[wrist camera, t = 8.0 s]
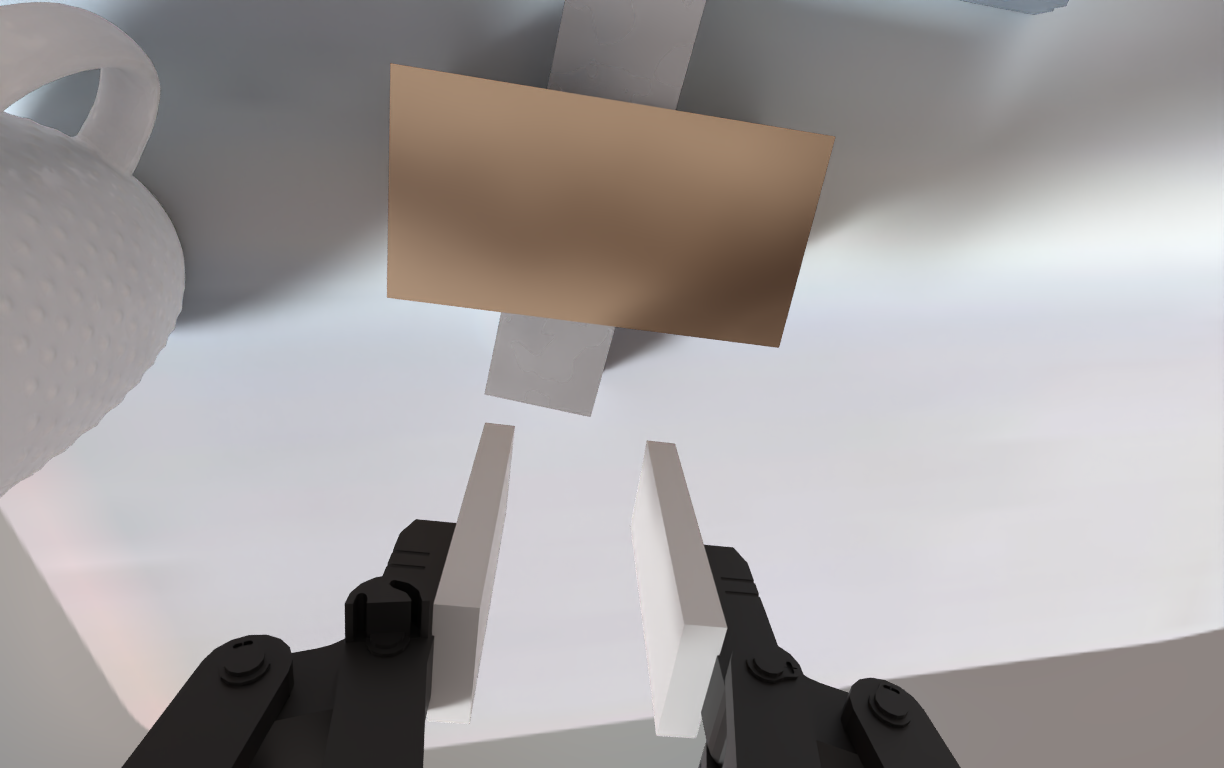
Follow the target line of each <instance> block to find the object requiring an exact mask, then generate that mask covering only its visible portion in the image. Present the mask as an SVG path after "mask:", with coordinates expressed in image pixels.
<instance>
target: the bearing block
mask: <svg viewBox="0 0 1224 768" xmlns="http://www.w3.org/2000/svg"><path fill="white" fill-rule="evenodd" d="M834 141H835V136H829V135H823V134H817V133H811V132H804V131H798V130H792V129H786V128H780V127H774V126H768V125H762V124H756V123H750V122H744V121H738V120H732V119H726V118H720V117H714V116H707V115H701V114H695V113H689V112H683V111H677V110H671V109H665V108H659V107H653V106H647V105H641V104H635V103H629V102H623V101H617V100H610V99H604V98H598V97H592V96H586V95H580V94H574V93H568V92H562V91H556V90H550V89H544V88H538V87H532V86H526V85H520V84H513V83H507V82H501V81H495V80H489V79H483V78H477V77H471V76H465V75H459V74H453V73H447V72H441V71H435V70H429V69H423V68H416V67H410V66H404V65H398V64H392V63H390V125H389V194H388V264H387V298H395V299H402V300H410V301H418V302H426V303H434V304H441V305H449V306H457V307H465V308H473V309H481V310H488V311H496V312H504V313H512V314H520V315H527V316H535V317H543V318H551V319H559V320H566V321H574V322H582V323H590V324H598V325H605V326H613V327H621V328H629V329H637V330H644V331H652V332H660V333H668V334H676V335H683V336H691V337H699V338H707V339H715V340H723V341H730V342H738V343H746V344H754V345H762V346H769V347H777V348H779V346H780V342H781V338H782V334H783V331H784V327H785V323H786V319H787V316H788V312H789V308H790V305H791V301H792V297H793V293H794V290H795V286H796V282H797V278H798V275H799V271H800V267H801V264H802V260H803V256H804V252H805V249H806V245H807V241H808V237H809V234H810V230H811V226H812V223H813V219H814V215H815V211H816V208H817V204H818V200H819V196H820V193H821V189H822V185H823V182H824V178H825V174H826V170H827V167H828V163H829V159H830V155H831V152H832V148H833V144H834Z"/></svg>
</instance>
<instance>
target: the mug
mask: <svg viewBox="0 0 1224 768" xmlns="http://www.w3.org/2000/svg"><path fill="white" fill-rule="evenodd" d="M99 68H100V80H99V87H98V91H97V95H96V99H95V102H94V105H93V106H92V108H91V110H90V112H89V115H88V117H87V119H86V121H85V122H84V124H83V125H82V127H81V129H80V132H79V133H78V134H77V135H76V136H73V137H71V136H68V135H66V134H64V133H62V132H61V131H59V130H57V129H54V128H50V127H47V126H43V125H41V124H39V123H37V122H35V121H33V120H31V119H28V118H22V117H18V116H14V115H11V114H8V113H6V112H3V111H4V110H5V109H7V108H8V107H9V106H11V105H12V104H13V103H15V102H16V101H18V100H19V99H21V98H22V97H24V96H25V95H27V94H29V93H30V92H32V91H34V90H36V89H38V88H39V87H41V86H43V85H46V84H48V83H50V82H53V81H55V80H58V79H60V78H62V77H65V76H69V75H72V74H75V73H79V72H82V71H87V70H93V69H99ZM160 92H161V90H160V82H159V78H158V74H157V71H156V69H155V67H154V65H153V63H152V61H151V60H150V59H149V57H148V56H147V55H146V53H145V52H144V51H143V50H142V49H141V47H140V46H139V45H138V44H137V43H136V42H135V41H134V40H133V39H132V38H130V37H129V36H128V35H127V34H126V33H125V32H123V31H122V30H121V29H120V28H118V27H117V26H116V25H114V24H112V23H111V22H109V21H108V20H106V19H104V18H102V17H100V16H99V15H97V14H95V13H92V12H90V11H87V10H85V9H81V8H77V7H74V6H69V5H65V4H60V3H50V2H31V3H19V4H11V5H4V6H0V498H1V497H2V496H3V495H4V494H5V493H6V492H7V491H8V490H9V489H11V488H12V487H13V486H14V485H16V484H17V483H19V482H20V481H22V480H24V479H26V478H28V477H30V476H32V475H33V474H34V473H35V472H37V471H39V470H41V468H42V467H43V466H44V465H45V464H46V463H47V462H48V461H49V460H50V459H52V458H53V457H55V456H57V455H59V454H61V453H63V452H65V451H66V450H67V449H68V448H69V446H71V445H72V444H73V443H74V442H75V441H76V440H77V439H78V438H79V437H80V436H81V435H82V434H84V433H85V432H87V431H89V430H90V429H92V428H94V427H95V426H97V425H98V423H99V422H100V420H101V419H102V418H103V417H104V416H105V414H106V413H108V412H109V411H110V410H112V409H113V408H115V407H116V406H118V405H119V404H120V403H121V402H122V401H123V399H124V397H125V395H126V394H127V393H128V392H129V391H130V390H131V389H133V388H134V387H135V386H136V385H137V384H138V383H140V381H141V379H142V376H143V374H144V373H145V372H146V370H148V369H149V368H150V367H151V366H152V365H154V363H155V360H156V357H157V355H158V354H159V352H160V351H161V350H162V349H163V348H164V347H165V346H166V343H167V339H168V337H169V335H170V334H171V332H172V331H173V330H174V329H175V326H176V320H177V317H178V316H179V314H180V312H181V311H182V300H183V294H184V290H185V265H184V256H183V251H182V248H181V244H180V241H179V238H178V236H177V233H176V230H175V228H174V226H173V224H172V222H171V220H170V218H169V217H168V215H167V214H166V212H165V211H164V209H163V208H162V206H161V205H160V203H159V202H158V201H157V200H156V198H155V197H154V196H153V195H152V194H151V193H150V192H149V191H148V189H147V188H146V187H145V186H144V185H143V184H142V183H141V182H140V181H138V180H137V179H136V178H135V177H134V176H133V175H132V174H133V173H134V171H135V169H136V167H137V165H138V163H139V160H140V158H141V155H142V153H143V151H144V148H145V146H146V144H147V142H148V139H149V137H150V135H151V133H152V131H153V128H154V124H155V120H156V117H157V113H158V107H159V101H160Z"/></svg>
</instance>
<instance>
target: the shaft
mask: <svg viewBox="0 0 1224 768" xmlns="http://www.w3.org/2000/svg"><path fill="white" fill-rule="evenodd" d="M705 3H706V0H565V3H564V8H563V13H562V18H561V23H560V28H559V33H558V37H557V42H556V47H555V52H554V57H553V62H552V67H551V72H550V77H549V81H548V86H547V89H550V90H556V91H562V92H568V93H574V94H580V95H586V96H592V97H598V98H604V99H610V100H617V101H623V102H629V103H635V104H641V105H647V106H653V107H659V108H665V109H671V110H676V107H677V104H678V100H679V97H680V93H681V89H682V86H683V82H684V79H685V75H686V71H687V68H688V64H689V61H690V57H691V53H692V50H693V46H694V43H695V39H696V35H697V32H698V28H699V25H700V21H701V17H702V14H703V10H704V7H705ZM614 330H615V327H613V326H605V325H598V324H590V323H582V322H574V321H566V320H559V319H551V318H543V317H535V316H527V315H520V314H512V313H504V312H501V316H500V321H499V326H498V331H497V336H496V340H495V345H494V350H493V355H492V360H491V365H490V370H489V375H488V380H487V384H486V389H485V394H486V395H490V396H495V397H500V398H504V399H509V400H514V401H518V402H523V403H528V404H532V405H537V406H541V407H546V408H551V409H555V410H560V411H565V412H569V413H574V414H579V415H583V416H588V417H590V416H591V413H592V409H593V406H594V402H595V398H596V395H597V391H598V388H599V384H600V380H601V377H602V373H603V370H604V366H605V363H606V359H607V355H608V352H609V348H610V345H611V341H612V337H613V334H614Z"/></svg>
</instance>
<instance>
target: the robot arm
mask: <svg viewBox="0 0 1224 768" xmlns="http://www.w3.org/2000/svg"><path fill="white" fill-rule="evenodd" d="M514 429H515V426H510V425H501V424H492V423H485V425H484V429H483V432H482V436H481V439H480V443H479V446H478V450H477V453H476V457H475V460H474V464H473V467H472V471H471V474H470V478H469V481H468V485H467V488H466V492H465V495H464V499H463V502H462V506H461V509H460V513H459V516H458V520H457V523H450V522H439V521H429V520H418V519H416V520H415V521H413V522H412V523H411V524H410V525H409V526H408V527H406V528H405V529H404V530H403V531H402V532H401V533H400V535H399V537H398V539H397V542H396V544H395V547H394V549H393V553H392V554H391V557H390V559H389V561H388V565H387V567H386V569H385V571H384V574H383V576H382V577H375V578H373V579H371V580H368V581H366V582H364V583H361V584H360V585H359V586H358V587H357V588H355V589H354V590H353V591H352V592H351V593H350V594H349V596H348V598H347V600H346V602H345V639H343V640H341V641H339V642H337V643H334V644H332V645H329V646H325V647H321V648H317V649H312V650H306V651H300V652H295V653H291V650H290V647H289V646H288V645H287V644H286V643H285V642H283V641H282V640H281V639H279V638H276V637H272V636H269V635H248V636H245V637H241V638H237V639H234V640H231V641H229V642H227V643H225V644H223V645H222V646H220V647H218V648H216V649H214V650H213V651H212V652H211V653H210V654H209V655H208V656H207V657H206V658H205V659H204V660H203V661H202V662H201V663H200V665H199V666H198V667H197V669H196V670H195V671H194V673H193V674H192V675H191V677H190V678H189V679H188V681H187V682H186V683H185V685H184V686H183V687H182V688H181V690H180V691H179V692H178V694H177V695H176V696H175V698H174V699H173V700H172V702H171V703H170V704H169V706H168V707H167V708H166V710H165V711H164V712H163V714H162V715H161V716H160V718H159V719H158V720H157V721H156V723H155V724H154V725H153V727H152V728H151V729H150V731H149V732H148V733H147V735H146V736H145V737H144V739H143V740H142V741H141V743H140V744H139V745H138V747H137V748H136V749H135V751H134V752H133V753H132V755H131V756H130V757H129V758H128V760H127V761H126V762H125V764H124V765H123V766H122V768H423V755H424V729H425V719H426V715H427V711H428V715H427V722H443V723H459V724H470V718H471V712H472V707H473V701H474V695H475V689H476V683H477V678H478V672H479V666H480V660H481V654H482V649H483V643H484V637H485V631H486V625H487V620H488V614H489V608H490V602H491V597H492V591H493V585H494V579H495V573H496V568H497V562H498V556H499V550H500V544H501V539H502V533H503V527H504V521H505V515H506V507H507V497H508V487H509V477H510V468H511V458H512V448H513V438H514ZM630 527H631V535H632V543H633V551H634V559H635V567H636V575H637V583H638V591H639V599H640V607H641V615H642V623H643V631H644V639H645V647H646V655H647V663H648V671H649V679H650V687H651V695H652V703H653V711H654V720H655V727H656V735H657V736H669V737H685V738H696V736H697V733H698V729H699V726H700V722H701V719H702V720H703V725H704V730H705V735H706V743H705V747H704V751H703V754H702V757H701V760H700V764H699V767H698V768H960V766H959V764H958V763H957V761H956V760H955V758H954V757H953V755H952V753H951V752H950V750H949V749H948V747H947V746H946V744H945V742H944V741H943V739H942V738H941V736H940V735H939V733H938V731H937V730H936V728H935V727H934V725H933V724H932V722H931V720H930V719H929V717H928V716H927V714H926V713H925V711H924V709H922V707H921V706H920V705H919V703H918V702H917V701H916V700H915V699H914V698H913V697H912V696H911V695H910V694H908V693H907V692H906V691H904V690H903V689H902V688H900V687H899V686H897V685H894V684H892V683H890V682H888V681H886V680H881V679H876V678H865V679H860V680H858V681H857V682H856V683H855V684H853V685H852V686H851V689H850V691H849V693H848V692H845V691H842V690H839V689H836V688H833V687H830V686H827V685H824V684H822V683H819V682H817V681H814V680H812V679H810V678H808V677H806V676H805V675H803V672H802V670H801V667H800V665H799V664H798V662H797V661H796V660H795V659H794V658H793V657H792V656H791V654H789V653H788V652H786V651H785V650H783V649H782V648H780V647H779V646H778V645H777V642H776V639H775V637H774V634H773V631H772V628H771V626H770V623H769V620H768V618H767V615H766V612H765V609H764V607H763V604H762V601H761V599H760V597H759V593H758V590H757V588H756V585H755V583H754V582H753V581H754V580H753V577H752V574H751V571H750V569H749V566H748V563H747V562H746V561H745V560H744V559H743V558H742V557H741V556H740V554H739V553H738V552H737V551H736V550H735V549H734V548H733V547H722V546H711V545H704V544H703V540H702V537H701V533H700V530H699V526H698V523H697V519H696V516H695V512H694V509H693V505H692V502H691V498H690V495H689V491H688V488H687V484H686V481H685V477H684V474H683V470H682V467H681V463H680V460H679V456H678V453H677V449H676V446H675V444H673V443H664V442H655V441H647V442H646V448H645V453H644V458H643V463H642V468H641V473H640V479H639V484H638V489H637V494H636V499H635V504H634V510H633V515H632V520H631V525H630Z"/></svg>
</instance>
